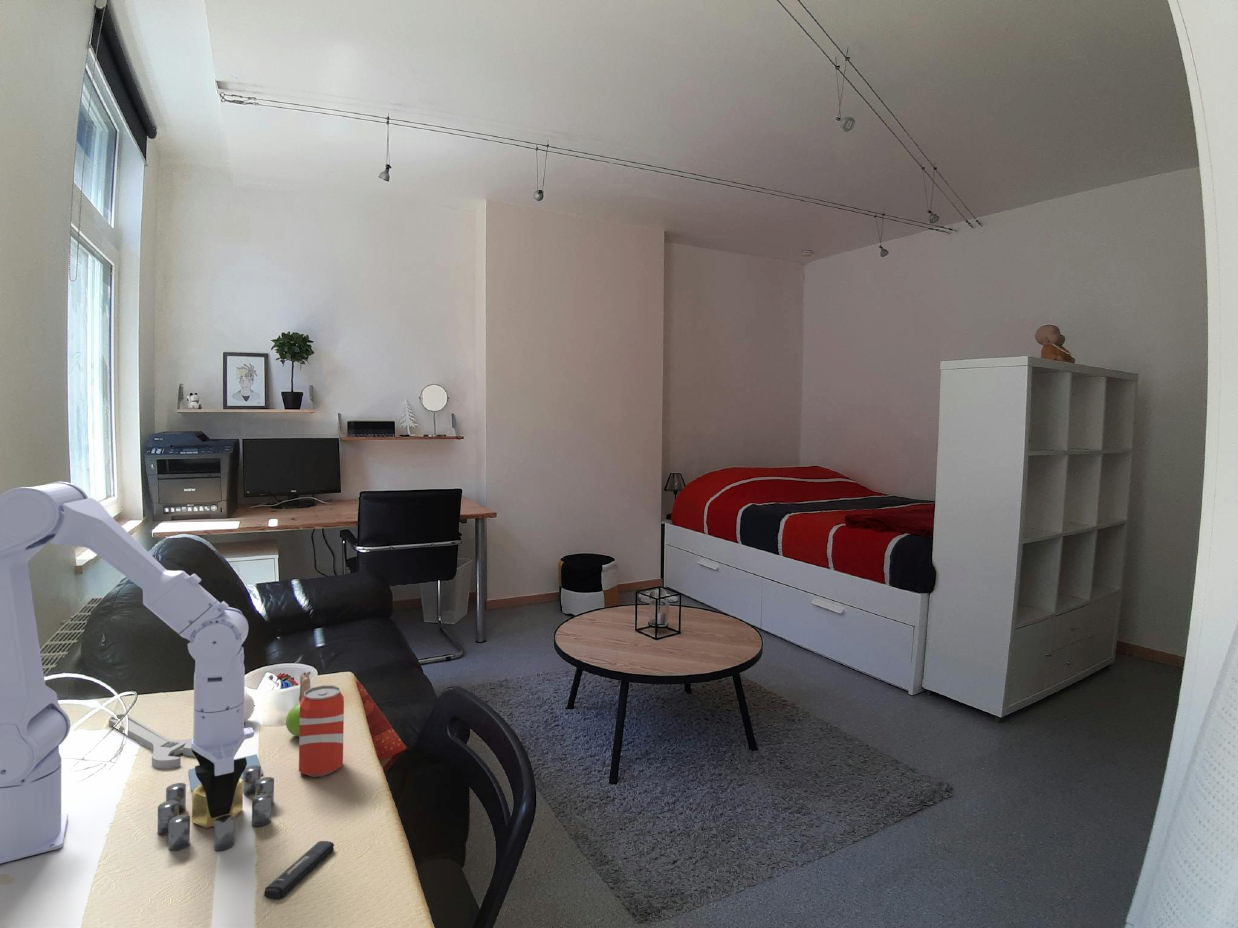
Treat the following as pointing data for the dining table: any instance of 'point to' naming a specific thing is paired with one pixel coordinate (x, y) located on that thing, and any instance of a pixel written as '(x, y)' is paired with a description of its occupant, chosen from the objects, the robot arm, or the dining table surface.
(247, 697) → the white egg
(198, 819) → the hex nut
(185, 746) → the adjustable wrench
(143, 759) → the dining table surface
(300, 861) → the usb stick
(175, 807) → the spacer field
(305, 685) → the snail figurine
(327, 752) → the beverage can
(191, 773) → the mat
